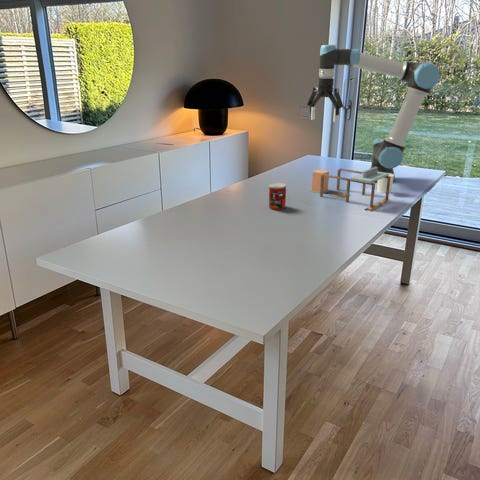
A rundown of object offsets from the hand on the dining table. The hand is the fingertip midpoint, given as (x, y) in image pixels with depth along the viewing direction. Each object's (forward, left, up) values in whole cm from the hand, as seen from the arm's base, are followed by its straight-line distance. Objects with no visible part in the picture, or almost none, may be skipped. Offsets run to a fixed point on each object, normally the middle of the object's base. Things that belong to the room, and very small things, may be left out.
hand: (323, 120), depth 245 cm
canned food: (+47, +6, -35) cm, 59 cm away
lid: (+14, +36, -22) cm, 44 cm away
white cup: (-7, +34, -35) cm, 49 cm away
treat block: (+14, +9, -33) cm, 37 cm away
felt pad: (+14, +9, -34) cm, 37 cm away
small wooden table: (+14, +23, -35) cm, 44 cm away
